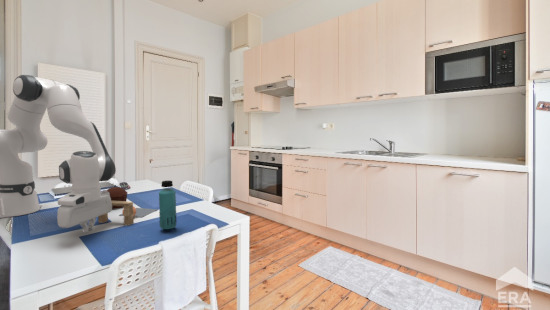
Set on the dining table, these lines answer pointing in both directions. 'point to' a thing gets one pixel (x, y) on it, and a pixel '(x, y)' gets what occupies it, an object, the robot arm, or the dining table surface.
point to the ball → (133, 211)
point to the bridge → (127, 212)
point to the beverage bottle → (167, 206)
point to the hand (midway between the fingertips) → (88, 230)
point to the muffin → (117, 195)
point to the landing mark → (142, 212)
